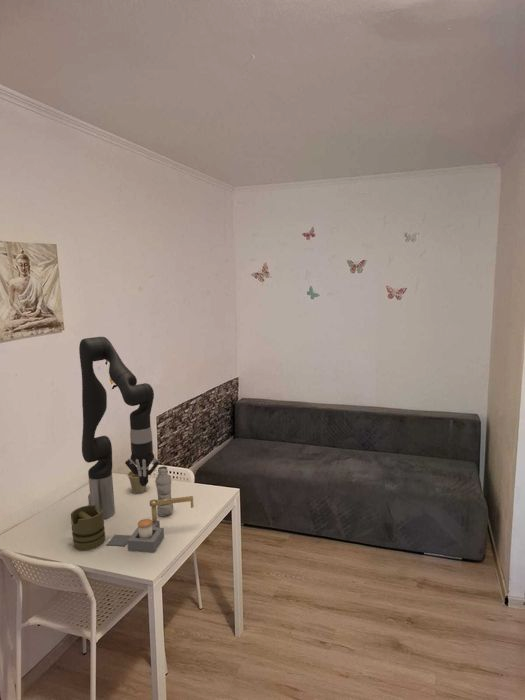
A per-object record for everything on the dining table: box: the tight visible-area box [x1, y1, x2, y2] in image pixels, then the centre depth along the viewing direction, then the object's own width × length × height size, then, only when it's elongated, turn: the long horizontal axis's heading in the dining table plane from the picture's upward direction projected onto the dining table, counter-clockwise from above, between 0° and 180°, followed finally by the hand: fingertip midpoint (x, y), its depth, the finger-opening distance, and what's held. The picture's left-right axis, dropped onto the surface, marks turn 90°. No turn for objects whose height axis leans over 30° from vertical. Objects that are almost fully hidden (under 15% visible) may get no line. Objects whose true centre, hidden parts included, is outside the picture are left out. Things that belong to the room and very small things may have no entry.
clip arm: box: [149, 495, 194, 509], centre depth 187 cm, size 3×16×4 cm, turn 101°
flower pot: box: [127, 470, 147, 494], centre depth 223 cm, size 9×9×9 cm
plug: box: [137, 518, 153, 539], centre depth 178 cm, size 5×5×9 cm
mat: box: [106, 534, 132, 547], centre depth 181 cm, size 7×7×1 cm
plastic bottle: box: [154, 465, 174, 516], centre depth 200 cm, size 6×7×20 cm
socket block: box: [126, 506, 165, 553], centre depth 180 cm, size 10×15×11 cm, turn 171°
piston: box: [70, 504, 106, 552], centre depth 180 cm, size 11×12×11 cm
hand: (144, 485), depth 176 cm, fingers closed
